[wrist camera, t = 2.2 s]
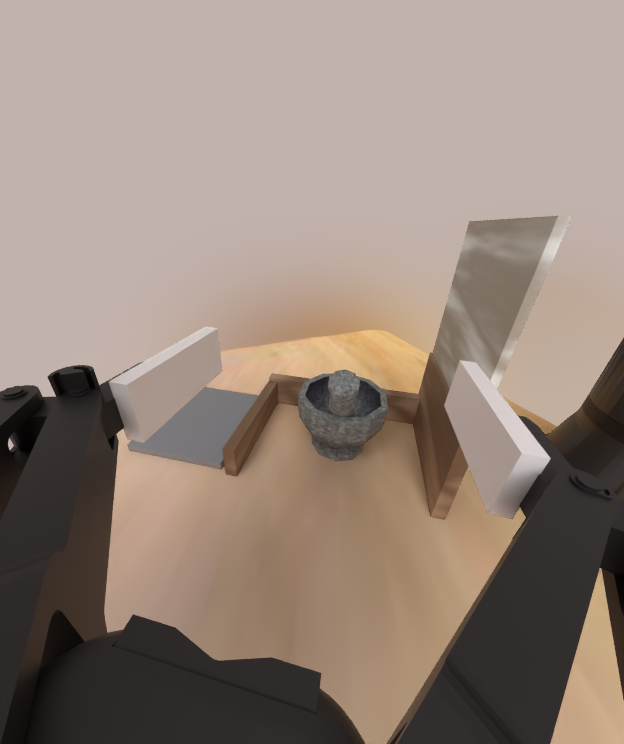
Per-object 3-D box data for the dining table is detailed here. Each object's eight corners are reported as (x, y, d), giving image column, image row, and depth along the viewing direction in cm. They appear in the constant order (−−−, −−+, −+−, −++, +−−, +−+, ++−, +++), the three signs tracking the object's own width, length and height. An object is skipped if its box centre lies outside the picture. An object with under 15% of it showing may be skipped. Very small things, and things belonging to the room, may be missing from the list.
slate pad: (264, 401, 40) (264, 396, 40) (221, 468, 29) (220, 463, 28) (195, 390, 42) (194, 385, 41) (129, 450, 31) (127, 444, 30)
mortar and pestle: (307, 412, 38) (311, 330, 33) (375, 422, 37) (392, 339, 31) (286, 476, 28) (287, 375, 23) (378, 492, 27) (403, 390, 21)
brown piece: (420, 419, 38) (479, 221, 26) (444, 519, 25) (578, 216, 14) (272, 396, 41) (267, 211, 30) (225, 474, 28) (186, 200, 17)
